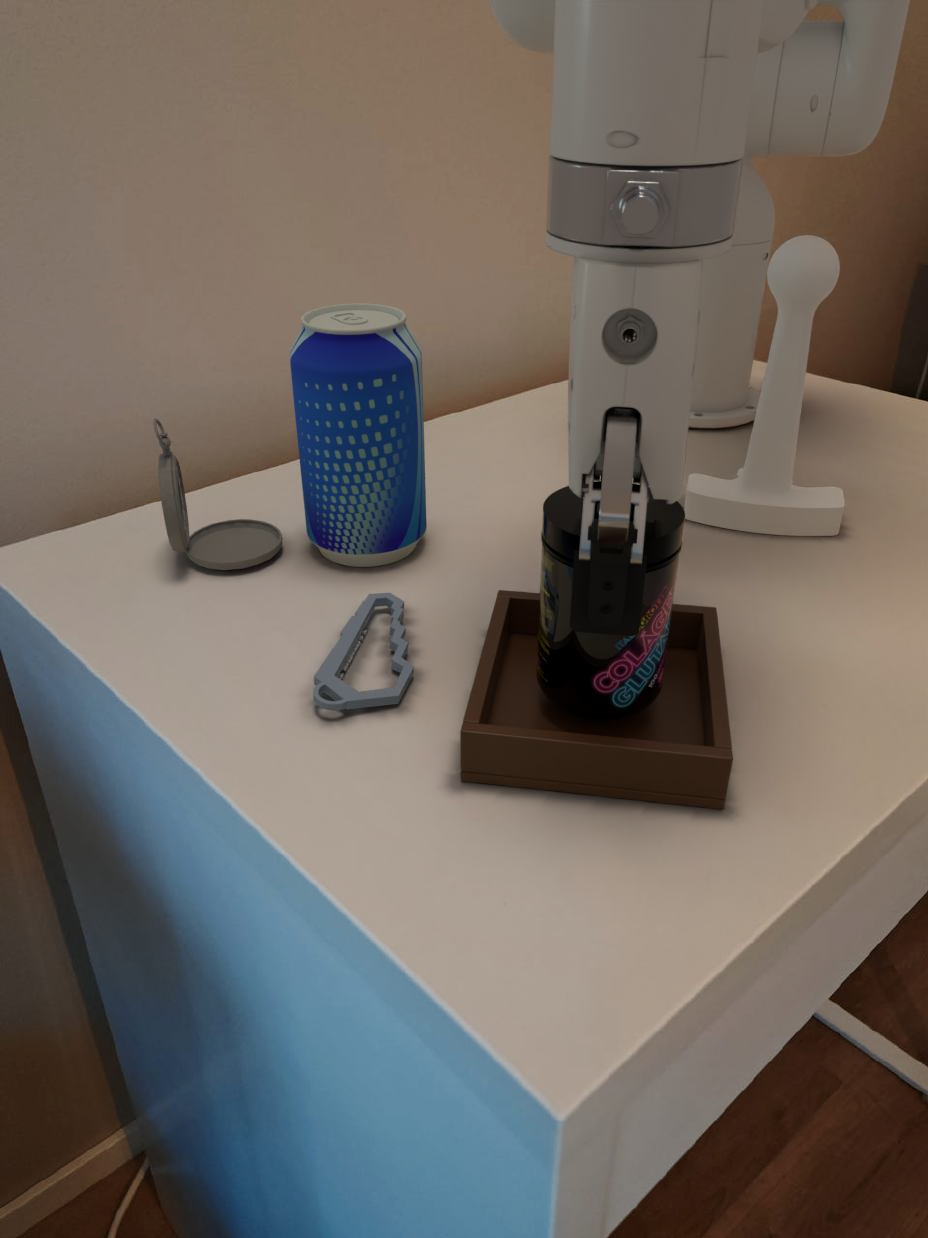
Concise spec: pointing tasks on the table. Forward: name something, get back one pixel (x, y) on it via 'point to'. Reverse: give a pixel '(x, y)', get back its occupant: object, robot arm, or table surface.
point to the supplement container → (601, 663)
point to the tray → (600, 749)
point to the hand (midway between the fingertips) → (607, 588)
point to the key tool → (343, 655)
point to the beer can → (360, 432)
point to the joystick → (778, 414)
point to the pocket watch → (215, 542)
